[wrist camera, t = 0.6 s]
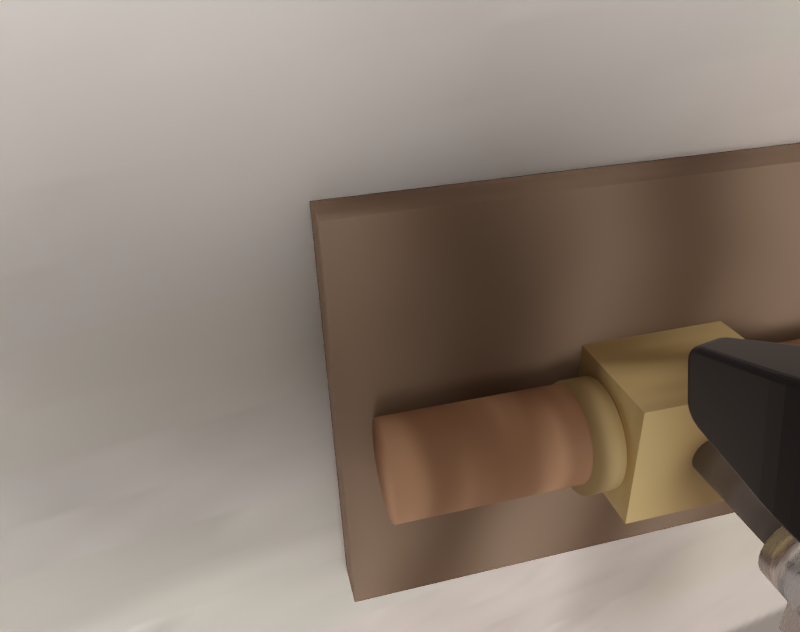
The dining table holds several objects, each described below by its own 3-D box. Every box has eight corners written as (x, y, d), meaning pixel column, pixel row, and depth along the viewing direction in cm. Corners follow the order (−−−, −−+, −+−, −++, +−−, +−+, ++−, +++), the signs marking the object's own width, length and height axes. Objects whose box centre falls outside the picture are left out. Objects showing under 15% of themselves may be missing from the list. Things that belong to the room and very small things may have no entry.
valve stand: (346, 568, 26) (403, 805, 19) (309, 201, 19) (377, 363, 12) (816, 462, 30) (1004, 624, 23) (929, 127, 23) (1247, 216, 16)
